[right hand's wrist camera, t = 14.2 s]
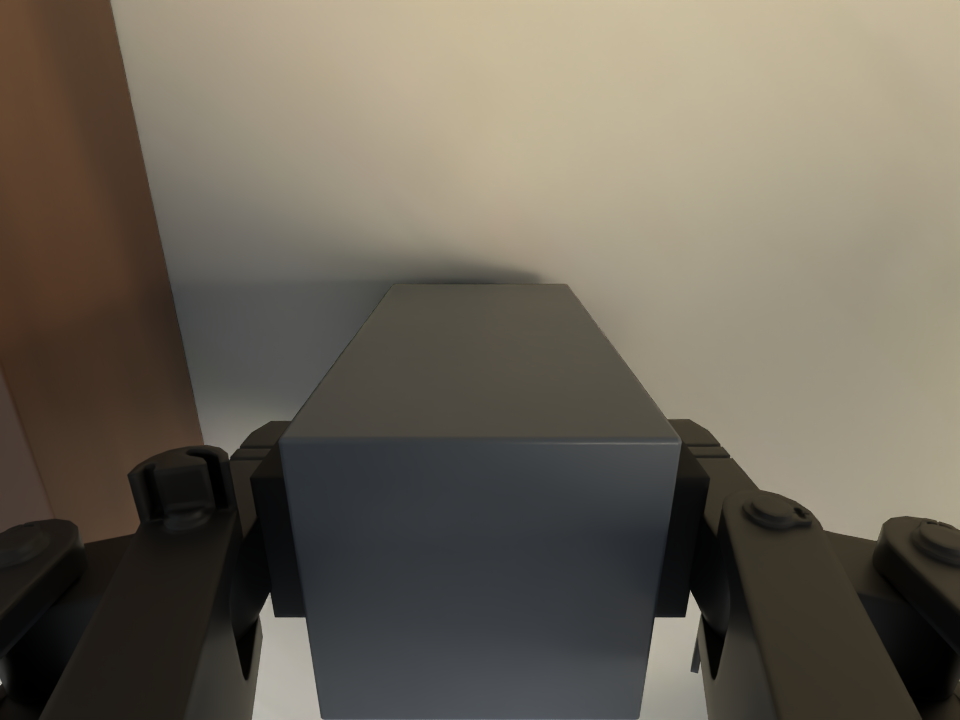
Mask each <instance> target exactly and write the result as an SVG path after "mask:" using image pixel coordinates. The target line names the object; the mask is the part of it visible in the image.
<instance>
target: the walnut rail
mask: <svg viewBox="0 0 960 720" xmlns="http://www.w3.org/2000/svg"><path fill="white" fill-rule="evenodd" d="M196 445H204V444H203V439H202V434H201V429H200V425H199V420H198V415H197V411H196V406H195V401H194V396H193V392H192V387H191V382H190V378H189V373H188V368H187V363H186V359H185V354H184V349H183V345H182V340H181V335H180V330H179V326H178V321H177V316H176V312H175V307H174V302H173V297H172V293H171V288H170V283H169V279H168V274H167V269H166V264H165V260H164V255H163V250H162V246H161V241H160V236H159V231H158V227H157V222H156V217H155V213H154V208H153V203H152V198H151V194H150V189H149V184H148V180H147V175H146V170H145V165H144V161H143V156H142V151H141V147H140V142H139V137H138V132H137V128H136V123H135V118H134V114H133V109H132V104H131V99H130V95H129V90H128V85H127V81H126V76H125V71H124V66H123V62H122V57H121V52H120V47H119V43H118V38H117V33H116V29H115V24H114V19H113V14H112V10H111V5H110V0H0V533H2V532H4V531H6V530H7V529H9V528H11V527H14V526H17V525H20V524H22V525H24V523H27V522H32V521H40V520H48V519H62V520H70V521H71V522H73V523H74V524H75V525H77V526H78V528H79V531H80V534H81V537H82V540H83V543H89V542H94V541H100V540H105V539H110V538H115V537H120V536H125V535H129V534H133V533H135V532H136V531H137V529H138V527H139V525H140V520H139V516H138V512H137V509H136V505H135V502H134V498H133V494H132V491H131V487H130V483H129V480H128V476H127V474H128V473H129V472H130V471H131V470H132V469H133V468H134V467H135V466H136V465H138V464H139V463H141V462H143V461H145V460H147V459H148V458H150V457H152V456H154V455H157V454H160V453H163V452H165V451H168V450H171V449H176V448H181V447H186V446H196Z"/></svg>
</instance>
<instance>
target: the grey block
mask: <svg viewBox="0 0 960 720" xmlns="http://www.w3.org/2000/svg"><path fill="white" fill-rule="evenodd" d="M681 444H682V441H681V438H680V436H679V435H678V434H677V432H676V431H675V430H674V428H673V427H672V426H671V424H670V423H669V422H668V420H667V419H666V418H665V416H664V415H663V413H662V412H661V411H660V409H659V408H658V407H657V405H656V404H655V403H654V401H653V400H652V399H651V397H650V396H649V394H648V393H647V392H646V390H645V389H644V388H643V386H642V385H641V384H640V382H639V381H638V380H637V378H636V377H635V376H634V374H633V373H632V371H631V370H630V369H629V367H628V366H627V365H626V363H625V362H624V361H623V359H622V358H621V357H620V355H619V354H618V353H617V351H616V350H615V348H614V347H613V346H612V344H611V343H610V342H609V340H608V339H607V338H606V336H605V335H604V334H603V332H602V331H601V330H600V328H599V327H598V325H597V324H596V323H595V321H594V320H593V319H592V317H591V316H590V315H589V313H588V312H587V311H586V309H585V308H584V306H583V305H582V304H581V302H580V301H579V300H578V298H577V297H576V296H575V294H574V293H573V292H572V290H571V289H570V288H569V286H568V285H567V284H393V285H392V286H391V288H390V289H389V291H388V292H387V293H386V295H385V296H384V297H383V299H382V300H381V301H380V303H379V304H378V305H377V307H376V308H375V310H374V311H373V312H372V314H371V315H370V316H369V318H368V319H367V320H366V322H365V323H364V324H363V326H362V327H361V328H360V330H359V331H358V333H357V334H356V335H355V337H354V338H353V339H352V341H351V342H350V343H349V345H348V346H347V347H346V349H345V350H344V352H343V353H342V354H341V356H340V357H339V358H338V360H337V361H336V362H335V364H334V365H333V366H332V368H331V369H330V371H329V372H328V373H327V375H326V376H325V377H324V379H323V380H322V381H321V383H320V384H319V385H318V387H317V388H316V389H315V391H314V392H313V394H312V395H311V396H310V398H309V399H308V400H307V402H306V403H305V404H304V406H303V407H302V408H301V410H300V411H299V413H298V414H297V415H296V417H295V418H294V419H293V421H292V422H291V423H290V425H289V426H288V427H287V429H286V430H285V432H284V433H283V434H282V436H281V437H280V439H279V448H280V454H281V461H282V467H283V474H284V480H285V487H286V493H287V500H288V506H289V513H290V519H291V526H292V532H293V539H294V545H295V552H296V558H297V565H298V571H299V578H300V584H301V591H302V597H303V604H304V610H305V617H306V623H307V630H308V636H309V643H310V649H311V656H312V662H313V669H314V675H315V682H316V688H317V694H318V701H319V707H320V714H321V718H322V719H323V720H637V719H639V716H640V709H641V703H642V696H643V690H644V683H645V677H646V670H647V664H648V658H649V651H650V645H651V638H652V632H653V625H654V619H655V612H656V606H657V599H658V593H659V586H660V580H661V573H662V567H663V560H664V554H665V547H666V541H667V534H668V528H669V521H670V515H671V509H672V502H673V496H674V489H675V483H676V476H677V470H678V463H679V457H680V450H681Z"/></svg>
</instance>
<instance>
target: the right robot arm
mask: <svg viewBox="0 0 960 720" xmlns="http://www.w3.org/2000/svg"><path fill="white" fill-rule="evenodd" d="M351 341H352V340H351ZM351 341H350V342H351ZM609 342H610V341H609ZM348 345H349V344H348ZM348 345H347V346H348ZM612 346H613V345H612ZM345 349H346V348H345ZM615 350H616V349H615ZM343 352H344V351H343ZM343 352H342V353H343ZM617 353H618V352H617ZM340 356H341V355H340ZM340 356H339V357H340ZM620 357H621V356H620ZM337 360H338V359H337ZM337 360H336V361H337ZM623 361H624V360H623ZM334 364H335V363H334ZM334 364H333V365H334ZM626 365H627V364H626ZM331 368H332V367H331ZM331 368H330V369H331ZM629 369H630V368H629ZM329 371H330V370H329ZM329 371H328V372H329ZM328 372H327V373H328ZM632 373H633V372H632ZM326 375H327V374H326ZM326 375H325V376H326ZM634 376H635V375H634ZM323 379H324V378H323ZM323 379H322V380H323ZM637 380H638V379H637ZM320 383H321V382H320ZM320 383H319V384H320ZM640 384H641V383H640ZM317 387H318V386H317ZM317 387H316V388H317ZM643 388H644V387H643ZM314 391H315V390H314ZM314 391H313V392H314ZM646 392H647V391H646ZM312 394H313V393H312ZM312 394H311V395H312ZM311 395H310V396H311ZM649 396H650V395H649ZM309 398H310V397H309ZM309 398H308V399H309ZM651 399H652V398H651ZM652 400H653V399H652ZM306 402H307V401H306ZM306 402H305V403H306ZM654 403H655V402H654ZM303 406H304V405H303ZM303 406H302V407H303ZM657 407H658V406H657ZM300 410H301V409H300ZM300 410H299V411H300ZM660 411H661V410H660ZM298 413H299V412H298ZM298 413H297V414H298ZM297 414H296V415H297ZM663 415H664V414H663ZM295 417H296V416H295ZM295 417H294V418H295ZM294 418H293V419H294ZM665 418H666V417H665ZM666 419H667V418H666ZM667 420H668V422H669V423H670V424H671V426H672V427H673V428H674V430H675V431H676V432H677V434H678V435H679V436H680V438H681V441H682V444H681V450H680V457H679V463H678V470H677V476H676V483H675V489H674V496H673V502H672V509H671V515H670V521H669V528H668V534H667V541H666V547H665V554H664V560H663V567H662V573H661V580H660V586H659V593H658V599H657V606H656V612H655V617H685V616H686V610H687V605H688V599H689V594H690V590H691V592H692V594H693V596H694V598H695V600H696V602H697V604H698V606H699V608H700V610H701V617H700V622H699V627H698V633H697V638H696V643H695V648H694V653H693V658H692V665H691V672H694V673H698V670H699V665H700V662H701V667H702V675H703V682H704V690H705V697H706V705H707V712H708V720H960V682H959V679H960V530H958V529H956V528H955V527H953V526H951V525H949V524H946V523H943V522H940V521H939V522H937V521H936V520H931V519H927V518H916V517H908V516H904V517H895V518H890V519H889V520H888V521H886V522H885V523H884V524H883V525H882V528H881V531H880V534H879V537H878V540H877V541H873V540H868V539H863V538H858V537H852V536H847V535H842V534H837V533H832V532H828V531H825V530H823V528H822V526H821V524H820V522H819V521H818V520H817V518H816V517H815V516H814V515H813V514H812V512H811V511H809V510H808V509H806V508H805V507H803V506H802V505H800V504H799V503H797V502H796V501H793V500H791V499H789V498H786V497H784V496H782V495H779V494H775V493H771V492H767V491H763V490H759V488H758V487H757V486H756V485H755V484H754V483H753V481H752V480H751V479H750V478H749V477H748V476H747V474H746V473H745V472H744V471H743V470H742V469H741V468H740V466H739V465H738V464H737V463H736V462H735V461H734V459H733V458H730V455H729V454H728V453H727V451H726V450H725V449H724V448H723V447H720V443H719V442H718V441H717V440H716V439H715V437H714V436H713V435H712V434H711V433H710V432H709V431H708V430H706V429H705V428H703V427H701V426H700V425H698V424H696V423H695V422H693V421H691V420H689V419H667ZM292 421H293V420H292ZM292 421H270V422H269V423H267V424H265V425H264V426H262V427H260V428H259V429H257V430H255V431H253V432H252V433H251V434H250V435H249V436H248V437H247V439H246V440H245V441H244V442H243V443H242V444H241V446H240V449H237V450H236V451H235V453H234V454H233V455H232V456H231V457H230V460H229V458H228V453H226V452H225V451H224V450H222V449H221V448H219V447H214V446H209V445H196V446H186V447H181V448H176V449H171V450H168V451H165V452H163V453H160V454H157V455H154V456H152V457H150V458H148V459H147V460H145V461H143V462H141V463H139V464H138V465H136V466H135V467H134V468H133V469H132V470H131V471H130V472H129V473H128V474H127V476H128V480H129V483H130V487H131V491H132V494H133V498H134V502H135V505H136V509H137V512H138V516H139V520H140V525H139V527H138V529H137V531H136V532H135V533H133V534H129V535H125V536H120V537H115V538H110V539H105V540H100V541H94V542H89V543H83V540H82V537H81V534H80V531H79V528H78V526H77V525H75V524H74V523H73V522H71V521H70V520H62V519H48V520H40V521H32V522H27V523H24V525H22V524H20V525H17V526H14V527H11V528H9V529H7V530H6V531H4V532H2V533H0V679H1V682H2V684H1V685H0V720H252V714H253V706H254V699H255V691H256V684H257V676H258V669H259V661H260V654H261V646H262V639H263V636H262V628H261V622H260V617H259V613H260V611H261V609H262V607H263V605H264V603H265V601H266V599H267V597H268V595H269V593H271V599H272V604H273V610H274V615H275V617H305V610H304V604H303V597H302V591H301V584H300V578H299V571H298V565H297V558H296V552H295V545H294V539H293V532H292V526H291V519H290V513H289V506H288V500H287V493H286V487H285V480H284V474H283V467H282V461H281V454H280V448H279V439H280V437H281V436H282V434H283V433H284V432H285V430H286V429H287V427H288V426H289V425H290V423H291V422H292Z"/></svg>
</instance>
